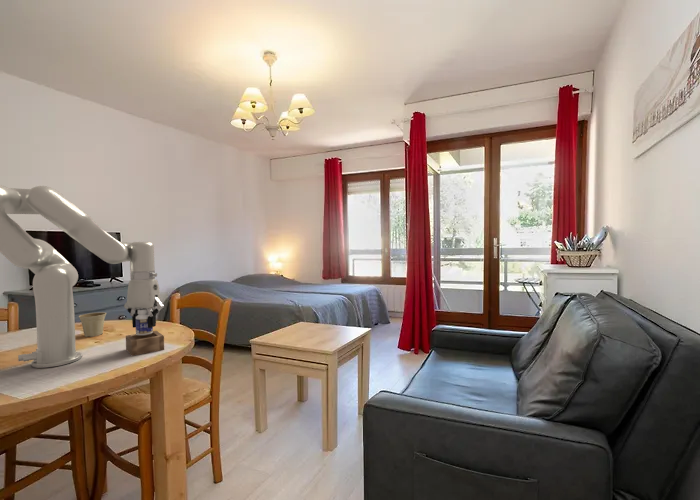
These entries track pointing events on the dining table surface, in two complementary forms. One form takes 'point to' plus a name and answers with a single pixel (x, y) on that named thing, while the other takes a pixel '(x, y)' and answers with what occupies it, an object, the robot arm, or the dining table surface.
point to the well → (144, 343)
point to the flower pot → (92, 323)
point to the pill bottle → (143, 323)
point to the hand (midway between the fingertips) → (144, 326)
